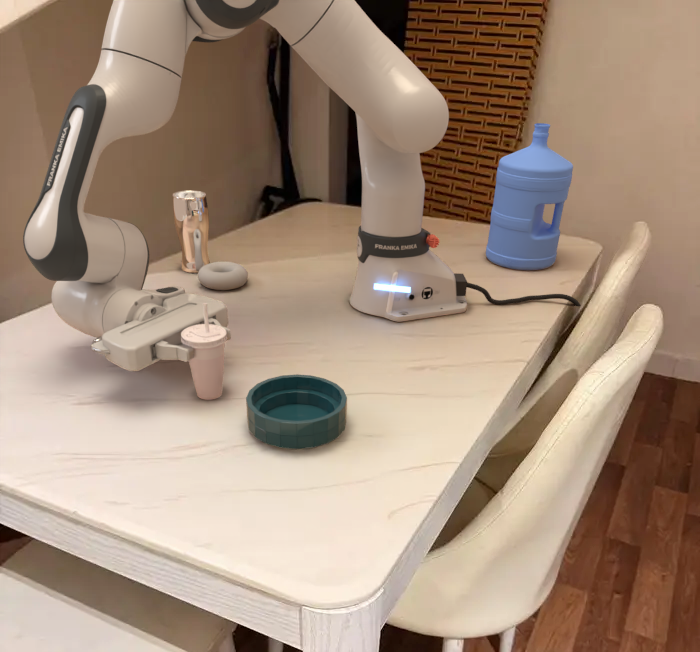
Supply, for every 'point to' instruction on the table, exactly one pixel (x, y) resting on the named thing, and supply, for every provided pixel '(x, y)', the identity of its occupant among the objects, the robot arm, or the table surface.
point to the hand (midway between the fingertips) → (209, 345)
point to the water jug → (528, 205)
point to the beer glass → (192, 228)
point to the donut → (222, 275)
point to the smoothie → (206, 356)
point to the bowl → (296, 411)
